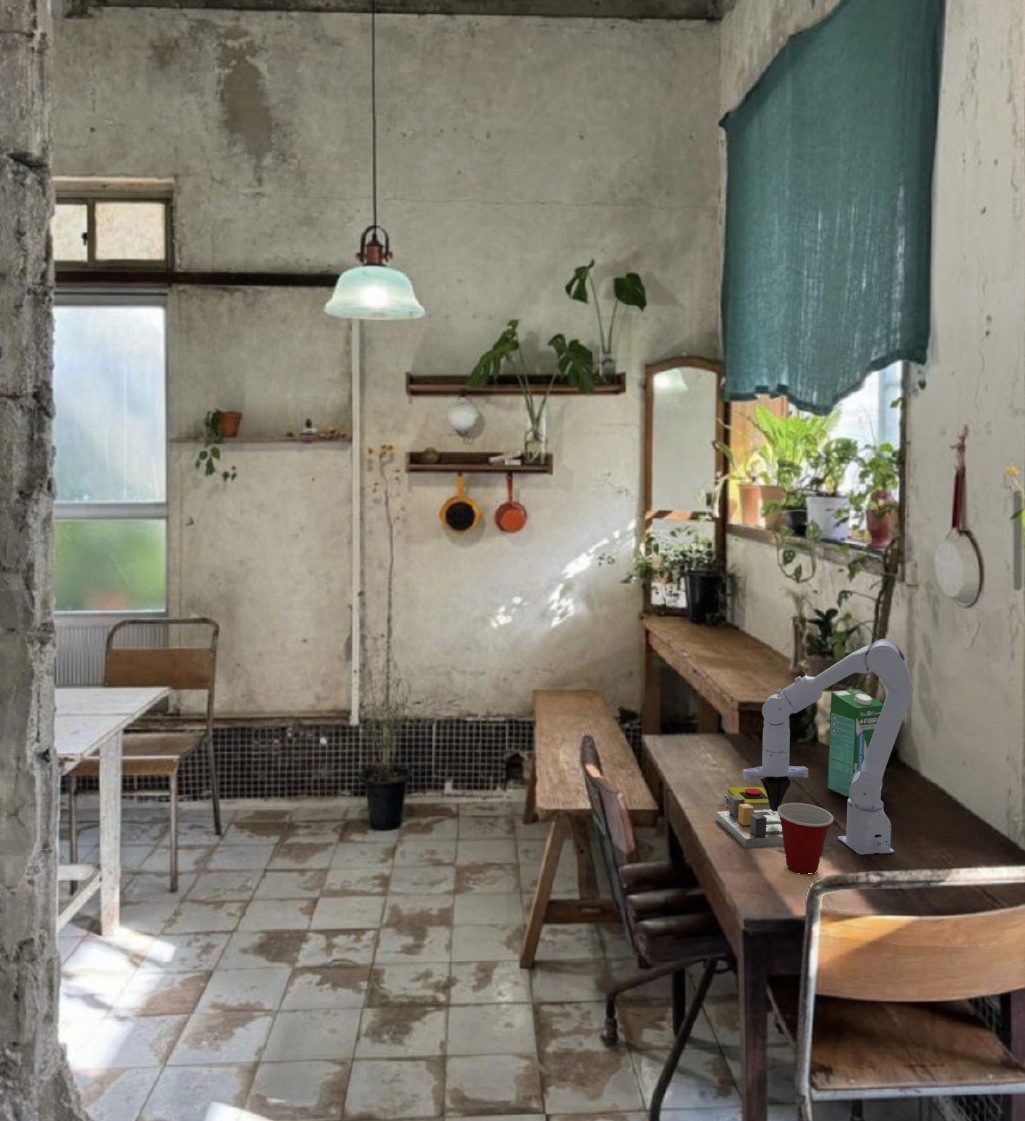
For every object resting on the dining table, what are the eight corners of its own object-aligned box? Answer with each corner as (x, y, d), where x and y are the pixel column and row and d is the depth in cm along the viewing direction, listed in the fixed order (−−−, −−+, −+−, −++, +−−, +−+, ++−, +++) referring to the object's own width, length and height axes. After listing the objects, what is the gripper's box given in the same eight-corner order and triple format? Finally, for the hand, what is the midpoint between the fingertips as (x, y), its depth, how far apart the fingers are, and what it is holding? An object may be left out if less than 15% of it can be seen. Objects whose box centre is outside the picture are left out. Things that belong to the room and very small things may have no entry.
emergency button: (743, 799, 226) (723, 779, 241) (742, 818, 227) (722, 797, 242) (782, 798, 227) (760, 779, 242) (781, 817, 228) (759, 796, 243)
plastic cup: (808, 885, 188) (810, 824, 187) (763, 867, 197) (765, 808, 196) (843, 872, 195) (845, 813, 194) (798, 855, 203) (800, 798, 202)
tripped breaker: (753, 824, 215) (754, 807, 214) (743, 825, 214) (743, 807, 214) (748, 820, 217) (749, 803, 217) (738, 820, 217) (738, 803, 217)
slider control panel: (807, 844, 209) (808, 817, 209) (745, 847, 207) (746, 820, 207) (774, 817, 226) (775, 792, 225) (716, 820, 224) (717, 794, 223)
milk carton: (852, 799, 240) (857, 698, 238) (827, 788, 248) (830, 691, 246) (881, 794, 243) (885, 695, 241) (854, 784, 252) (858, 688, 249)
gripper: (798, 743, 220) (797, 802, 222) (737, 745, 218) (736, 805, 219) (813, 751, 214) (811, 812, 215) (750, 754, 211) (748, 816, 212)
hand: (774, 809), depth 216 cm, fingers closed
